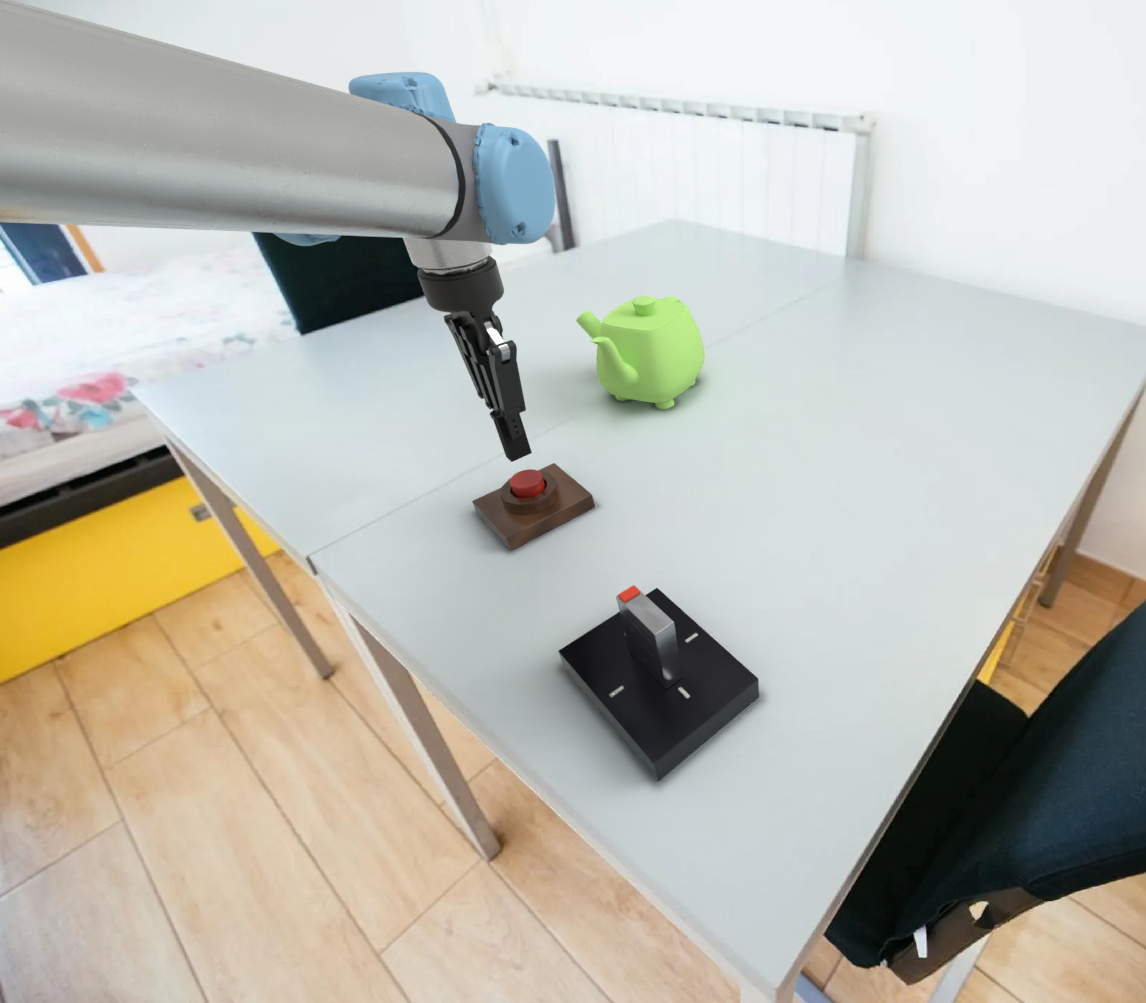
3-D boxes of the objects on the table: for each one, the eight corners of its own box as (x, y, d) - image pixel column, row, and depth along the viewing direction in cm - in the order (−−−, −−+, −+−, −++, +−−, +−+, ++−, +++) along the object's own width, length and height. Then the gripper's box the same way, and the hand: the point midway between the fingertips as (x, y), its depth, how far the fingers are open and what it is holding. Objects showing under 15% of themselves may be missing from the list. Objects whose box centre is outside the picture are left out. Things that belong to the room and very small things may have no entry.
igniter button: (522, 503, 78) (518, 492, 77) (507, 489, 80) (504, 478, 79) (550, 489, 80) (547, 478, 79) (535, 475, 82) (532, 465, 81)
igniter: (511, 551, 76) (502, 527, 74) (476, 513, 82) (467, 490, 79) (595, 507, 82) (589, 483, 80) (557, 475, 88) (551, 452, 86)
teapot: (622, 350, 119) (607, 266, 108) (724, 368, 112) (719, 280, 102) (540, 415, 101) (514, 322, 91) (655, 441, 94) (641, 343, 84)
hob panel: (658, 781, 53) (653, 763, 51) (564, 669, 63) (557, 649, 61) (759, 697, 60) (758, 677, 58) (660, 605, 69) (656, 586, 67)
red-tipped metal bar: (683, 677, 58) (673, 620, 53) (666, 690, 57) (654, 633, 52) (645, 639, 61) (633, 582, 56) (629, 651, 60) (615, 594, 55)
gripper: (520, 267, 60) (572, 464, 75) (464, 238, 67) (522, 423, 82) (444, 288, 56) (515, 491, 71) (393, 256, 63) (467, 446, 78)
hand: (519, 454), depth 77 cm, fingers closed
